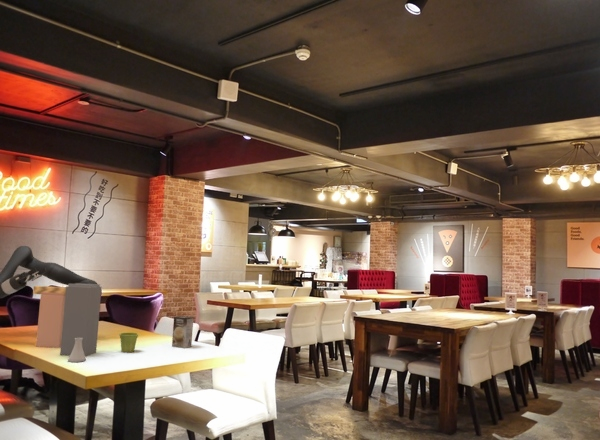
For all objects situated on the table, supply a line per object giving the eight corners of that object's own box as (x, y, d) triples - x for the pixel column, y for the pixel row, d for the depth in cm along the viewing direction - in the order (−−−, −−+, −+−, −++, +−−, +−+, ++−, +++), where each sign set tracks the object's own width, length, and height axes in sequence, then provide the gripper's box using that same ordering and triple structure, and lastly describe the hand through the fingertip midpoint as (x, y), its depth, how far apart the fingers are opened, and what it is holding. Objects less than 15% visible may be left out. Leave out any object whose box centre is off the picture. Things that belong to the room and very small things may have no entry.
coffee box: (171, 346, 264) (173, 316, 265) (178, 345, 270) (180, 315, 271) (184, 348, 260) (186, 318, 262) (192, 346, 266) (194, 317, 267)
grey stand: (60, 355, 228) (66, 283, 232) (72, 351, 239) (78, 283, 242) (84, 356, 228) (90, 285, 231) (96, 352, 238) (101, 284, 242)
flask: (78, 363, 213) (80, 339, 214) (64, 361, 214) (66, 338, 215) (89, 360, 220) (90, 337, 221) (74, 358, 222) (76, 336, 223)
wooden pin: (32, 294, 252) (33, 284, 253) (38, 293, 257) (39, 284, 258) (76, 296, 250) (77, 286, 251) (81, 295, 256) (82, 286, 256)
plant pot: (135, 353, 241) (137, 335, 242) (116, 352, 240) (117, 335, 240) (139, 349, 250) (140, 332, 251) (119, 349, 249) (121, 332, 250)
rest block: (36, 346, 247) (41, 292, 250) (47, 343, 257) (52, 291, 260) (58, 347, 246) (63, 293, 249) (69, 344, 256) (73, 292, 259)
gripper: (2, 278, 249) (29, 263, 249) (19, 277, 264) (46, 263, 263) (7, 291, 249) (35, 276, 248) (25, 290, 263) (51, 275, 262)
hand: (41, 269), depth 256 cm, fingers open, 8 cm apart
